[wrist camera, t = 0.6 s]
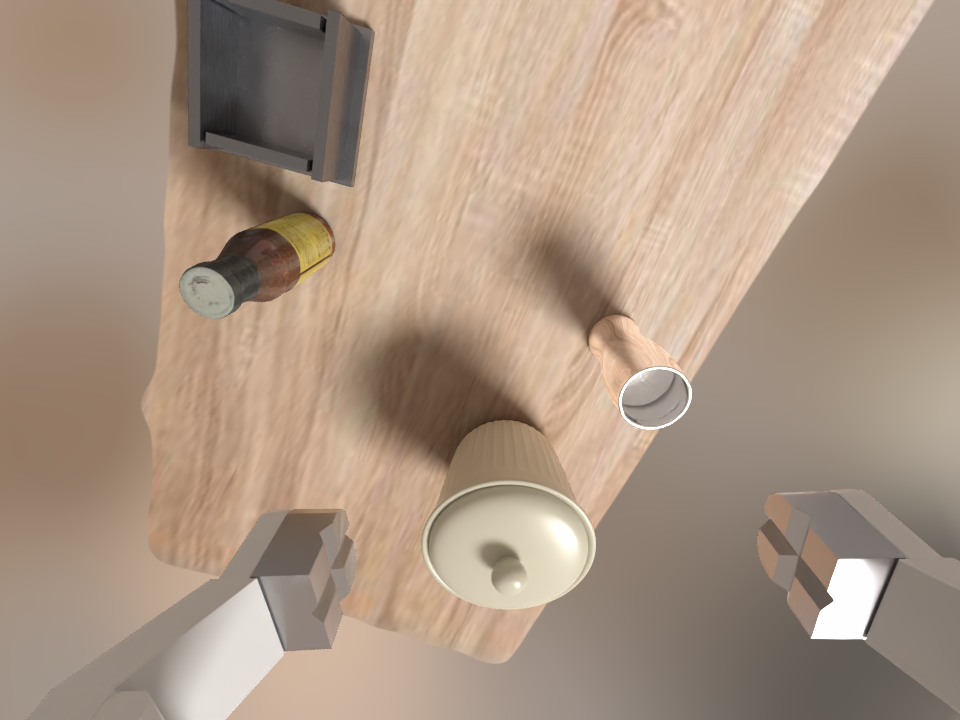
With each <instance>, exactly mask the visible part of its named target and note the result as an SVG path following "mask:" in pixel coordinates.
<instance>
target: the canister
mask: <svg viewBox="0 0 960 720" xmlns="http://www.w3.org/2000/svg"><path fill="white" fill-rule="evenodd" d="M421 547H422V554H423V558H424V561H425V564H426V566H427V568H428V570H429V571H430V573H431V574H432V576H433V577H434V578H435V579H436V581H437V582H438V583H439V584H440V585H441V586H442V587H444V588H445V589H446V590H447V591H449V592H450V593H452V594H453V595H455V596H457V597H459V598H461V599H463V600H465V601H467V602H470V603H473V604H476V605H480V606H484V607H489V608H495V609H522V608H529V607H534V606H538V605H542V604H545V603H548V602H550V601H553V600H555V599H557V598H559V597H561V596H563V595H564V594H566V593H567V592H569V591H570V590H571V589H573V588H574V587H575V586H576V585H577V584H578V583H579V582H580V581H581V580H582V579H583V578H584V577H585V575H586V574H587V572H588V571H589V569H590V567H591V565H592V563H593V560H594V556H595V551H596V538H595V533H594V529H593V526H592V523H591V521H590V519H589V518H588V516H587V514H586V513H585V512H584V510H583V509H582V508H581V507H580V506H579V505H578V504H577V501H576V499H575V496H574V494H573V492H572V489H571V487H570V484H569V482H568V479H567V477H566V474H565V472H564V470H563V468H562V465H561V463H560V461H559V459H558V457H557V455H556V453H555V451H554V449H553V447H552V445H551V444H550V443H549V441H548V440H547V438H546V437H545V436H543V435H542V434H541V432H539V431H537V430H536V429H535V428H534V427H531V426H529V425H527V424H525V423H521V422H519V421H512V420H500V421H497V420H495V421H493V422H487V423H486V424H483V425H480V426H479V427H477V428H474V429H473V430H472V432H470V433H468V434H467V435H466V437H465V438H464V439H463V440H462V441H461V443H460V445H459V446H458V447H457V449H456V451H455V454H454V456H453V459H452V461H451V464H450V467H449V470H448V472H447V475H446V478H445V481H444V484H443V487H442V491H441V494H440V497H439V500H438V503H437V506H436V508H435V509H434V511H433V512H432V513H431V515H430V516H429V518H428V520H427V522H426V524H425V527H424V530H423V534H422V542H421Z"/></svg>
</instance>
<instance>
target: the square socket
mask: <svg viewBox="0 0 960 720" xmlns="http://www.w3.org/2000/svg"><path fill="white" fill-rule="evenodd" d="M187 6H188V121H189V145H190V146H193V147H197V148H202V149H215V150H218V151H222V152H226V153H229V154H233V155H236V156H240V157H244V158H247V159H251V160H255V161H258V162H262V163H265V164H269V165H273V166H276V167H280V168H284V169H287V170H291V171H294V172H298V173H302V174H305V175H309V176H312V177H311V179H313V180H317V181H320V182H326V181H331V182H334V183H338V184H342V185H345V186H349V187H354V182H355V175H356V167H357V160H358V152H359V145H360V138H361V130H362V123H363V115H364V108H365V100H366V93H367V86H368V78H369V71H370V63H371V56H372V49H373V41H374V34H375V32H374V31H373V30H372V29H369V28H365V27H362V26H359V25H355V24H352V23H350V22H349V21H348V20H347V19H346V18H345V17H344V16H343V15H342V14H341V13H339V12H336V11H332V10H329V9H328V12H327V16H326V15H323V14H320V13H316V12H313V11H310V10H307V9H303V8H300V7H297V6H293V5H290V4H287V3H284V2H280V1H277V0H187Z"/></svg>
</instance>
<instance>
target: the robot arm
mask: <svg viewBox="0 0 960 720" xmlns="http://www.w3.org/2000/svg"><path fill="white" fill-rule="evenodd" d="M764 511H765V512H766V514H767V515H768V517H769V518H770V519H769V520H768V521H767V522H766V523H765V524H764V525H762V526H761V527H760V528H759V534H758V539H757V546H758V552H759V558H760V560H761V562H762V565H763V567H764V569H765V570H766V572H767V573H768V575H769V577H770V578H771V580H772V581H773V582H775V583H776V584H778V585H779V586H781V587H783V588H784V589H786V590H787V591H788V600H787V603H788V605H789V606H790V608H791V609H792V611H793V612H794V613H795V615H796V616H797V618H798V619H799V621H800V622H801V624H802V625H803V626H804V628H805V629H806V631H807V632H808V634H809V635H810V637H811V638H829V639H833V638H836V639H837V638H838V639H865V642H866V643H867V644H869V645H870V646H871V647H872V648H874V649H875V650H877V651H878V652H879V653H880V654H882V655H883V656H885V657H886V658H887V659H889V660H890V661H891V662H892V663H894V664H895V665H896V666H898V667H899V668H900V669H902V670H903V671H904V672H905V673H907V674H908V675H909V676H911V677H912V678H913V679H915V680H916V681H917V682H919V683H920V684H921V685H923V686H924V687H925V688H927V689H928V690H929V691H931V692H932V693H933V694H934V695H936V696H937V697H939V698H940V699H941V700H943V701H944V702H945V703H946V704H948V705H949V706H950V707H952V708H953V709H954V710H956V711H957V712H958V713H960V561H958V560H956V559H954V558H942V557H941V556H940V555H938V554H937V553H936V552H935V551H934V550H933V549H932V548H930V547H929V546H928V545H927V544H926V543H925V542H923V541H922V540H921V539H920V538H919V537H918V536H916V535H915V534H914V533H913V532H912V531H911V530H909V529H908V528H907V527H906V526H905V525H904V524H902V523H901V522H900V521H899V520H898V519H897V518H895V517H894V516H893V515H892V514H891V513H890V512H889V511H887V510H886V509H885V508H884V507H883V506H882V505H880V504H879V503H878V502H877V501H876V500H874V499H873V498H872V497H871V496H870V495H869V494H868V493H866V492H863V491H861V490H859V489H846V490H830V491H829V490H828V491H815V492H791V493H772V494H771V495H770V496H769V497H768V498H767V500H766V504H765V508H764ZM348 527H349V521H348V517H347V514H346V511H344V510H342V509H293V510H268V511H267V512H265V513H263V514H262V515H261V516H260V518H259V519H258V521H257V522H256V524H255V525H254V527H253V528H252V530H251V531H250V533H249V534H248V536H247V537H246V539H245V540H244V542H243V543H242V545H241V546H240V548H239V549H238V551H237V552H236V554H235V555H234V557H233V558H232V560H231V561H230V563H229V564H228V566H227V567H226V569H225V570H224V572H223V573H222V575H221V576H220V578H219V579H211V580H209V581H208V582H206V583H205V584H203V585H202V586H200V587H199V588H198V589H196V590H195V591H193V592H192V593H190V594H189V595H187V596H186V597H185V598H183V599H182V600H180V601H179V602H177V603H176V604H174V605H173V606H172V607H170V608H169V609H167V610H166V611H164V612H163V613H161V614H160V615H158V616H157V617H155V618H154V619H153V620H152V621H150V622H148V623H147V624H146V625H144V626H142V627H141V628H140V629H138V630H137V631H136V632H134V633H133V634H131V635H130V636H128V637H127V638H125V639H124V640H122V641H121V642H119V643H118V644H116V645H115V646H114V647H112V648H111V649H109V650H108V651H106V652H105V653H103V654H102V655H100V656H99V657H98V658H96V659H95V660H93V661H92V662H90V663H89V664H87V665H86V666H85V667H83V668H82V669H80V670H79V671H77V672H76V673H74V674H73V675H72V676H70V677H69V678H67V679H66V680H64V681H63V682H62V683H60V684H59V685H57V686H56V687H54V688H53V689H51V691H50V692H49V693H48V694H47V695H46V696H45V698H44V699H43V700H42V701H41V702H40V704H39V705H38V706H37V707H36V708H35V710H34V711H33V712H32V713H31V714H30V716H29V717H28V718H27V719H26V720H225V719H226V718H227V717H228V716H229V715H230V714H231V713H232V712H233V710H234V709H235V708H236V707H237V706H238V705H239V704H240V703H241V702H242V700H243V699H244V698H245V697H246V696H247V695H248V694H249V693H250V692H251V691H252V689H253V688H254V687H255V686H256V685H257V684H258V683H259V682H260V681H261V679H262V678H263V677H264V676H265V675H266V674H267V673H268V672H269V671H270V669H271V668H272V667H273V666H274V665H275V664H276V663H277V662H278V661H279V660H280V659H281V657H282V656H283V655H284V651H296V650H315V649H331V648H332V645H333V642H334V639H335V636H336V633H337V630H338V627H339V624H340V621H341V618H342V615H343V612H342V608H341V604H340V601H341V600H342V599H343V598H345V597H346V596H347V595H348V594H349V593H350V591H351V588H352V584H353V581H354V577H355V569H356V550H355V546H354V541H352V540H351V539H350V538H349V537H348V536H347V535H346V532H347V529H348Z"/></svg>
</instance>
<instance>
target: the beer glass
mask: <svg viewBox="0 0 960 720" xmlns="http://www.w3.org/2000/svg"><path fill="white" fill-rule="evenodd" d="M589 347H590V350H591V352H592V353H593V355H594V356H595V357H596V358H598V359H599V360H600V365H601V373H602V378H603V382H604V385H605V388H606V390H607V392H608V394H609V396H610V398H611V399H612V401H613V403H614V404H615V406H616V407H617V409H618V410H619V411H620V413H621V415H622V416H623V418H624V419H625V420H626V421H627V422H628V423H630V424H631V425H633V426H635V427H638V428H642V429H658V428H662V427H665V426H668V425H670V424H672V423H673V422H675V421H676V420H678V419H679V418H680V417H681V416H682V415H683V414H684V413H685V412H686V410H687V409H688V407H689V405H690V402H691V398H692V389H691V384H690V382H689V380H688V379H687V377H686V376H685V375H684V374H683V372H682V370H681V369H680V367H679V366H678V365H677V363H676V362H675V361H674V359H673V358H672V357H671V356H670V355H669V354H668V353H667V352H666V351H665V350H664V349H663V348H662V347H660V346H659V345H657V344H656V343H655V342H653V341H651V340H649V339H647V338H646V337H644V336H642V335H641V334H640V331H639V328H638V326H637V325H636V323H635V322H634V321H633V320H631V319H630V318H628V317H626V316H623V315H611V316H607V317H605V318H603V319H601V320H600V321H598V322H597V323H596V324H595V325H594V326H593V328H592V330H591V332H590V334H589Z"/></svg>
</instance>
